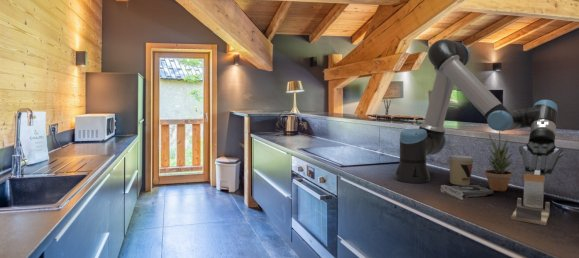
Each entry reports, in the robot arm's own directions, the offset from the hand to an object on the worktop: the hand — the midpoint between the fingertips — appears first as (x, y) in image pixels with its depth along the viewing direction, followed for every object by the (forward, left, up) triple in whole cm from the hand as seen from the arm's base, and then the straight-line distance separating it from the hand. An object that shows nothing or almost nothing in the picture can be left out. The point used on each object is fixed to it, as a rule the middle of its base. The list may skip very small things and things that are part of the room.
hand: (535, 188), depth 114 cm
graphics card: (-2, -22, -8) cm, 23 cm away
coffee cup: (-19, -33, -7) cm, 38 cm away
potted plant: (-20, -18, -7) cm, 27 cm away
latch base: (+11, +2, -7) cm, 13 cm away
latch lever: (+5, +1, -5) cm, 7 cm away
